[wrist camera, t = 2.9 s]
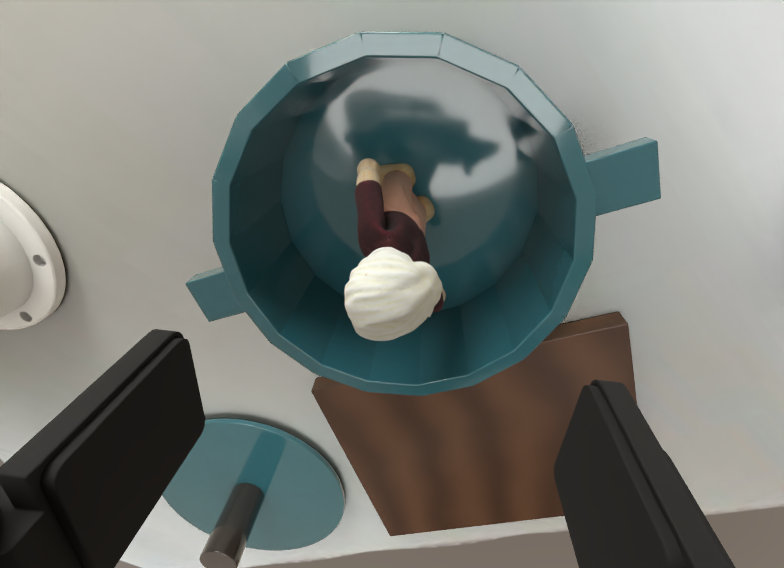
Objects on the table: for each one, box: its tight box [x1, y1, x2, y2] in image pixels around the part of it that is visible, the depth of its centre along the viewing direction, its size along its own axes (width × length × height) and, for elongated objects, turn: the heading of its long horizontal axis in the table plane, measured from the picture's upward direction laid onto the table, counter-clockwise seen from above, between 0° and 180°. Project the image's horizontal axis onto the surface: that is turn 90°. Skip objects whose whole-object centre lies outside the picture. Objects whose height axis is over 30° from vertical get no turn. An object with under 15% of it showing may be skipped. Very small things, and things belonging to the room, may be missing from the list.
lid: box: [162, 418, 345, 568], centre depth 35 cm, size 18×18×7 cm
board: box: [312, 312, 637, 536], centre depth 32 cm, size 22×18×2 cm
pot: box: [186, 31, 661, 396], centre depth 21 cm, size 17×22×8 cm
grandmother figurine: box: [344, 158, 446, 341], centre depth 19 cm, size 8×4×13 cm, turn 40°
